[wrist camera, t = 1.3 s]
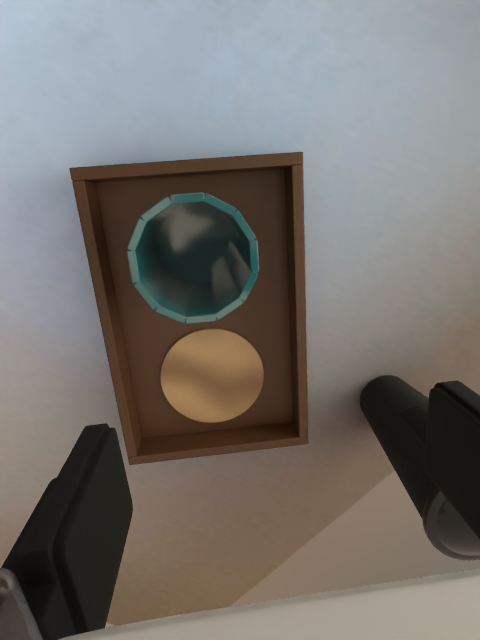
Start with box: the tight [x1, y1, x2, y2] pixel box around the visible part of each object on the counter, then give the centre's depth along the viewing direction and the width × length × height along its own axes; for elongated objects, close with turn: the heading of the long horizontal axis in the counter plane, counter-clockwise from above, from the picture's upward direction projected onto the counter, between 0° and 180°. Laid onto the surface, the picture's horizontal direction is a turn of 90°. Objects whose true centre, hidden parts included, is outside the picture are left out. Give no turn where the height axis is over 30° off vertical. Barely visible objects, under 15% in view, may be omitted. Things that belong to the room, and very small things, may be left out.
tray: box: [70, 152, 308, 465], centre depth 29 cm, size 24×16×3 cm, turn 4°
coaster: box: [160, 328, 264, 423], centre depth 32 cm, size 9×9×1 cm
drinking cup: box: [360, 376, 480, 560], centre depth 25 cm, size 8×8×20 cm
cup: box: [127, 192, 259, 324], centre depth 24 cm, size 7×7×10 cm
